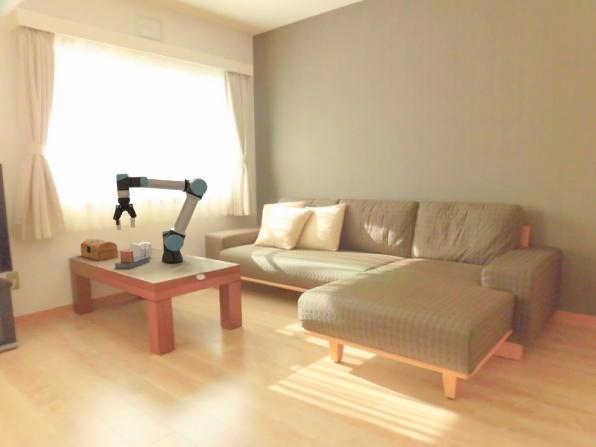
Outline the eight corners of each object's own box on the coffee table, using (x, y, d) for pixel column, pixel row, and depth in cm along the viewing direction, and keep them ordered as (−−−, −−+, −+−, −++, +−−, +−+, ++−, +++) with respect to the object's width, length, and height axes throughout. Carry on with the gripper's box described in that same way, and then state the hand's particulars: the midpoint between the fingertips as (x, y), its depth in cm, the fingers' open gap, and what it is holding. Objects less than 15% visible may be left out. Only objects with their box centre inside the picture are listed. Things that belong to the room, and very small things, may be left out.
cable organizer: (130, 257, 320) (129, 243, 318) (142, 255, 328) (141, 241, 326) (140, 260, 310) (139, 244, 309) (153, 257, 318) (152, 242, 317)
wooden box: (79, 257, 327) (78, 240, 326) (100, 253, 340) (99, 237, 338) (96, 261, 308) (95, 243, 306) (118, 258, 321) (117, 240, 319)
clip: (123, 265, 290) (122, 250, 288) (134, 266, 288) (133, 250, 286) (121, 266, 287) (120, 251, 286) (131, 267, 285) (130, 251, 284)
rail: (136, 261, 306) (136, 256, 306) (149, 261, 303) (149, 256, 303) (115, 268, 283) (114, 263, 282) (129, 268, 280) (129, 263, 280)
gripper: (131, 195, 287) (133, 226, 290) (105, 198, 263) (107, 231, 266) (140, 195, 285) (142, 226, 287) (115, 198, 261) (117, 231, 264)
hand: (126, 228), depth 277 cm, fingers open, 13 cm apart
